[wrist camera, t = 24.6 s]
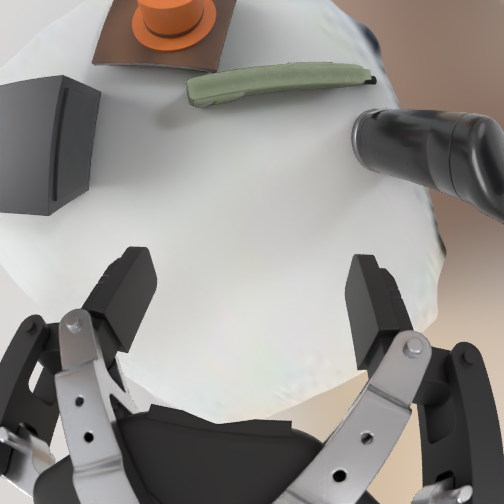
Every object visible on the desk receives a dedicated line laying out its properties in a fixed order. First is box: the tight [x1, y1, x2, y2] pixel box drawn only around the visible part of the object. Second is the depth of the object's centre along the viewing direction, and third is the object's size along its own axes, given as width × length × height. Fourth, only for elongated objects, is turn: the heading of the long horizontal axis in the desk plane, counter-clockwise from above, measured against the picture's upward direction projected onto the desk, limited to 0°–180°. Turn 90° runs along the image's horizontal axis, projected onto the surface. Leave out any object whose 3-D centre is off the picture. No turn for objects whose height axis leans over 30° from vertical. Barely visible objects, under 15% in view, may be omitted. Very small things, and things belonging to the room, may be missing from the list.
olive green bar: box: [187, 62, 377, 108], centre depth 26 cm, size 7×3×25 cm
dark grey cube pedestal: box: [0, 75, 101, 216], centre depth 20 cm, size 10×12×12 cm
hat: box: [132, 0, 216, 52], centre depth 16 cm, size 9×9×8 cm
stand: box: [92, 0, 236, 73], centre depth 21 cm, size 14×12×4 cm
